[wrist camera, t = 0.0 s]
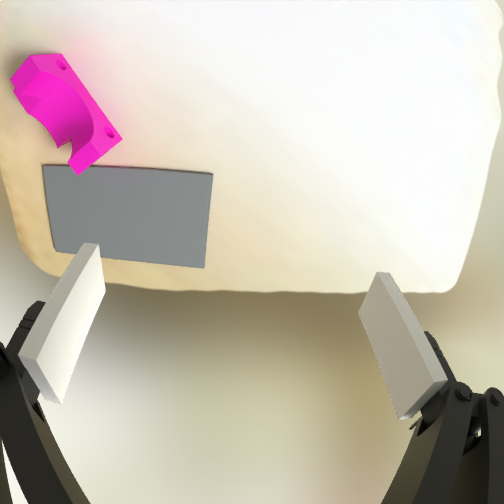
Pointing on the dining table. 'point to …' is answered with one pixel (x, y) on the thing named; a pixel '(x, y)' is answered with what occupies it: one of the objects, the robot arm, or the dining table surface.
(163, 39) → the dining table surface
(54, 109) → the magenta bearing cap
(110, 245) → the pad
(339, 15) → the dining table surface
